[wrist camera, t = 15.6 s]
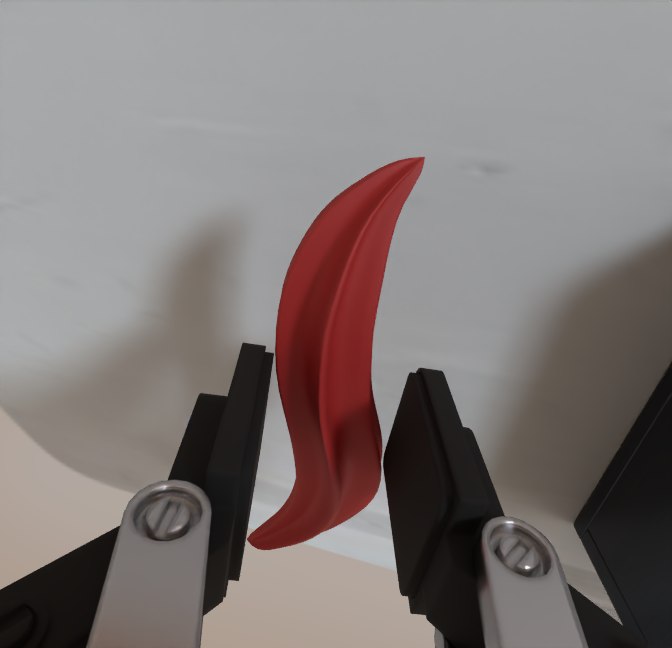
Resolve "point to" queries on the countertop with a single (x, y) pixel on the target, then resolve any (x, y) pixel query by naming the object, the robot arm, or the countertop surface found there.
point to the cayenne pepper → (334, 356)
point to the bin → (637, 523)
